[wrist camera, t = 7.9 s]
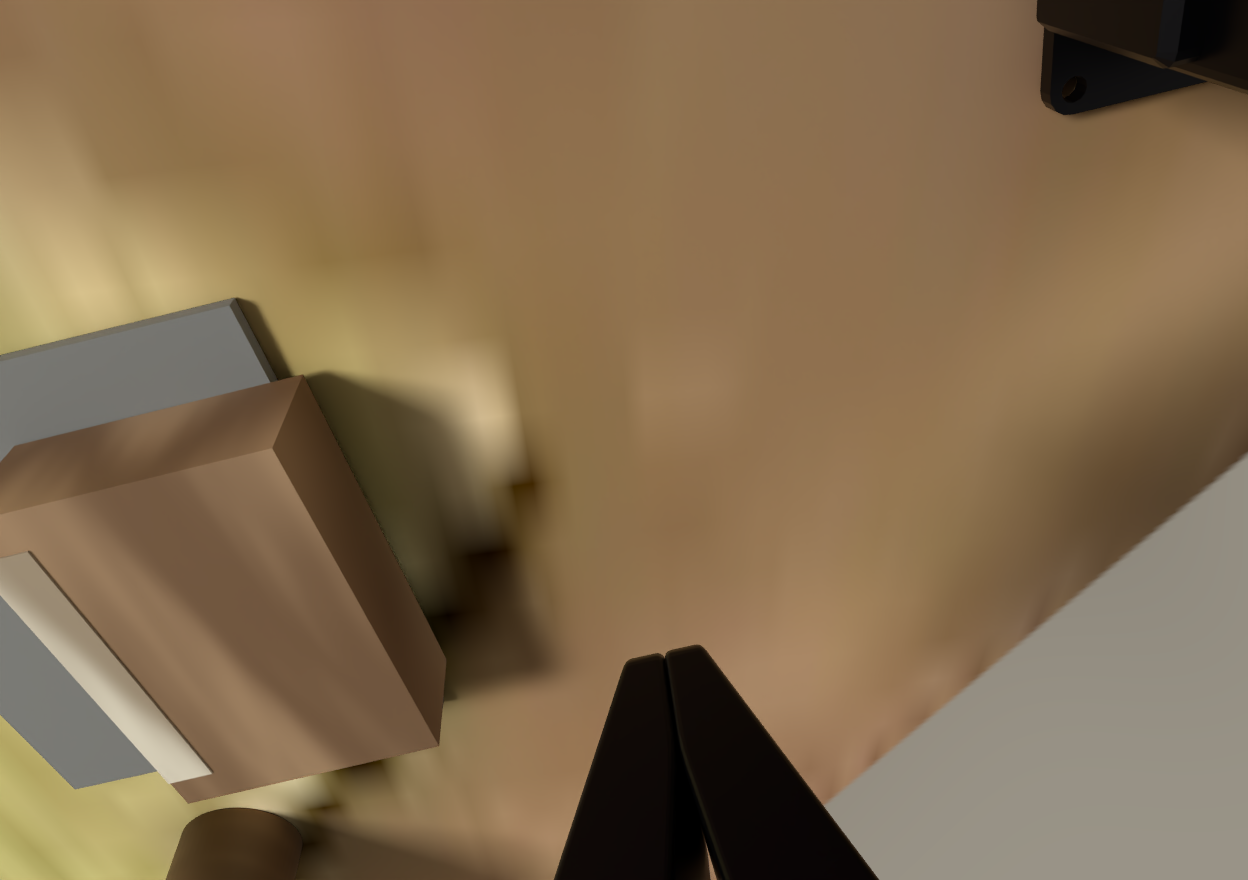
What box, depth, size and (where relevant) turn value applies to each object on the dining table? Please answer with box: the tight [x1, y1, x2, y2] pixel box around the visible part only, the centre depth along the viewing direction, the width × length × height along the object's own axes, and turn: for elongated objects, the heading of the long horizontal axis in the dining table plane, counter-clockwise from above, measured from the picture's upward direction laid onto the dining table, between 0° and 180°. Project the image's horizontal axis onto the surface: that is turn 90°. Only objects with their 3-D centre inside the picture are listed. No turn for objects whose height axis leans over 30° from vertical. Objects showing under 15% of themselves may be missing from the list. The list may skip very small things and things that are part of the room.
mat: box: [0, 298, 444, 789], centre depth 23 cm, size 12×14×1 cm
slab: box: [0, 375, 447, 803], centre depth 21 cm, size 3×10×7 cm
